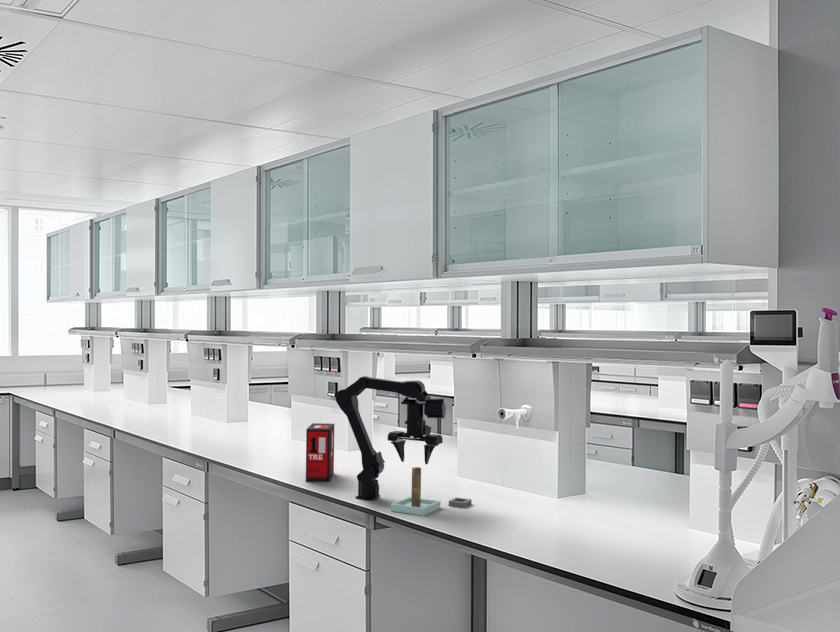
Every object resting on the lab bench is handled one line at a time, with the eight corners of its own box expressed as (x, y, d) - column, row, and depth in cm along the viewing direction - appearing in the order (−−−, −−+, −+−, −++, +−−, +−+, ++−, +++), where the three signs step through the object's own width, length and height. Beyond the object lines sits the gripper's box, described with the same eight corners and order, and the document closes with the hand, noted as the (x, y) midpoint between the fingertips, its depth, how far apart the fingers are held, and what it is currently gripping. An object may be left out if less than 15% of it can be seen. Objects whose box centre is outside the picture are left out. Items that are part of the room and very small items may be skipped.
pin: (409, 505, 253) (410, 467, 253) (417, 504, 255) (417, 466, 255) (414, 507, 251) (415, 469, 251) (422, 506, 252) (422, 468, 252)
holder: (448, 505, 258) (448, 500, 258) (455, 502, 263) (455, 497, 264) (464, 507, 256) (464, 502, 256) (471, 504, 261) (471, 499, 261)
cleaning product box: (311, 473, 310) (312, 423, 310) (333, 473, 310) (334, 423, 310) (305, 481, 293) (306, 429, 293) (329, 482, 293) (329, 429, 293)
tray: (390, 510, 250) (391, 504, 250) (408, 503, 261) (408, 496, 261) (423, 515, 245) (423, 508, 245) (440, 507, 255) (440, 501, 255)
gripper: (449, 416, 267) (449, 461, 267) (402, 413, 276) (402, 456, 276) (435, 420, 257) (434, 467, 257) (387, 416, 266) (386, 461, 266)
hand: (414, 463), depth 264 cm, fingers open, 9 cm apart
